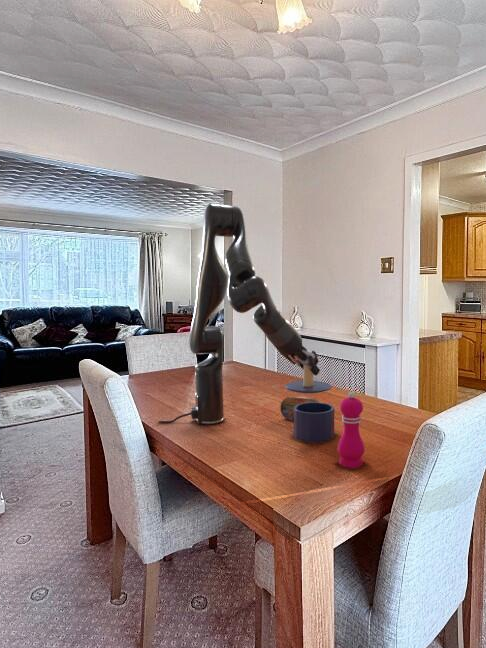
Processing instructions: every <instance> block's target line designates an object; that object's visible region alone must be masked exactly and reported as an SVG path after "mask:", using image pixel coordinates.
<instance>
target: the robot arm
mask: <svg viewBox="0 0 486 648" xmlns="http://www.w3.org/2000/svg"><path fill="white" fill-rule="evenodd" d="M202 229H203V231H202V248H201V256H200V257H201V258H200V264H199V272H198V277H197V285H196V295H195V296H196V297H195V304H194V305H195V306H194V311H193V317H192V321H191V326H190V332H189V339H188V344H189V345H188V346H189V349H190V351H191V353H192V354H194V355H205V354H209V355H208V357H207V358H206V359H204V360H203V361H201V362H199V363H197V364H196V365H195V367H194V370H195V371H194V372H195V373H194V375H195V393H194V399H195V407H190V412H187V413H184V414H181V415H179V416H176V417H175V418H173V419H172V420H158V424H171V423H174V422H176V421H177V420H179V419H181V418H184V417H187V416H190V417H191V419H192V420H195V421H196V423H197V425H217V424H220V423H222V422H224V421H225V416H224V415H225V413H224V405H225V404H224V381H223V379H224V378H223V375H224V374H223V367H224V334H223V333H224V332H223V330H222V329H221V327H220V326H218V325H212V326H210V325H209V326H207V323H208V320H209V319H210V317H211V315H212V314H213V313H214V312H215V311H216V310H217V309H218V308H219V306H220V305H221V304H222V302H223V301H224V299H225V298H226V294H227V299H228V303H229V305H230V306H231V308H232V309H233V310H234V311H235V312H236V313H239V314H245V313H247V312H249V311H251V310H252V309H254V308H256V307H257V306H259V305H260V306H259V307H258V308H257V309H256V310H255V311H254V313H253V315H252V317H253V318H252V319H253V322H254V323H255V324H256V326H257V327H258V328H259V329H260V330H261V331H262V332H263V334H264V335H265V337H266V338H267V339H268V341H269V342H270V343H271V344H272V346H273V347H274V348H275V349H276V350H277V351H278V352H279V354H280V355H281V356H282V357H284V358H285V359H286V360H288V361H289V362H290V363H291V364H292V365H296V366H297V367H300V368H301V370H303V365H306V366H307V367H308V368H309V369H310V370H311V372H312V373H313V376H318V375H319V373H320V371H321V369H320V367H318V366H317V365H318V364H319V359H318V355H317V352H316V351H315V350H312V351H308V349H307V348H306V347H305V346H304V345H303V338H302V336H301V334H300V333H299V332H298V331H297V330H296V328H295V327H294V326H293V324H291V322H290V321H289V320H288V319H287V318H286V317H285V315H283V314H282V312H281V311H280V310H279V309H278V307H277V306H276V304H275V302H274V300H273V298H272V296H271V292H270V289H269V287H268V285H267V282H266V281H265V279H263V278H262V277H260V276H257V275H256V270H255V267H254V264H253V261H252V257H251V255H250V251H249V245H248V237H247V230H246V223H245V218H244V214H243V211H242V209H241V208H239V207H238V206H236V205H230V204H224V203H223V204H221V203H208V204H207V206H206V208H205V210H204V216H203V227H202ZM216 237H223V238H224V237H225V238H233V240H232V242H231V244H230V246H229V247H228V249H227V250H226V253H225V256H224V257H225V258H224V262H225V266H224V264H223V262H222V259H221V258H220V256H219V253H218V251H217V248H216ZM303 360H304V361H303ZM308 361H309V362H310V364H308Z"/></svg>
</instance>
